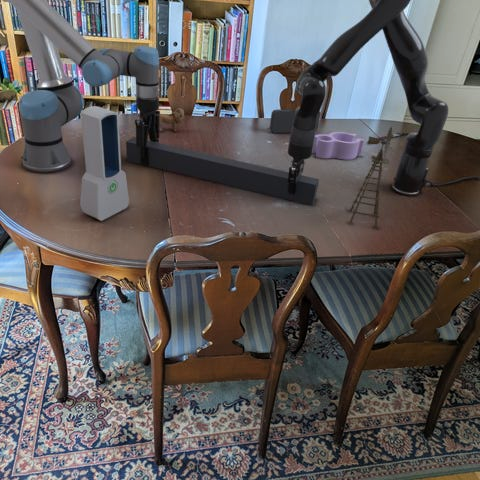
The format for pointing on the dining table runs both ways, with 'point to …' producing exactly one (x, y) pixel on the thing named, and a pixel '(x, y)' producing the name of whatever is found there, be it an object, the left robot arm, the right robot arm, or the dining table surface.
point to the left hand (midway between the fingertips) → (148, 161)
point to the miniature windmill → (377, 160)
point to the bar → (224, 171)
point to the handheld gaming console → (284, 120)
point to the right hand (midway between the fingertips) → (293, 189)
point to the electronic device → (102, 165)
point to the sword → (391, 136)
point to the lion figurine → (172, 118)
